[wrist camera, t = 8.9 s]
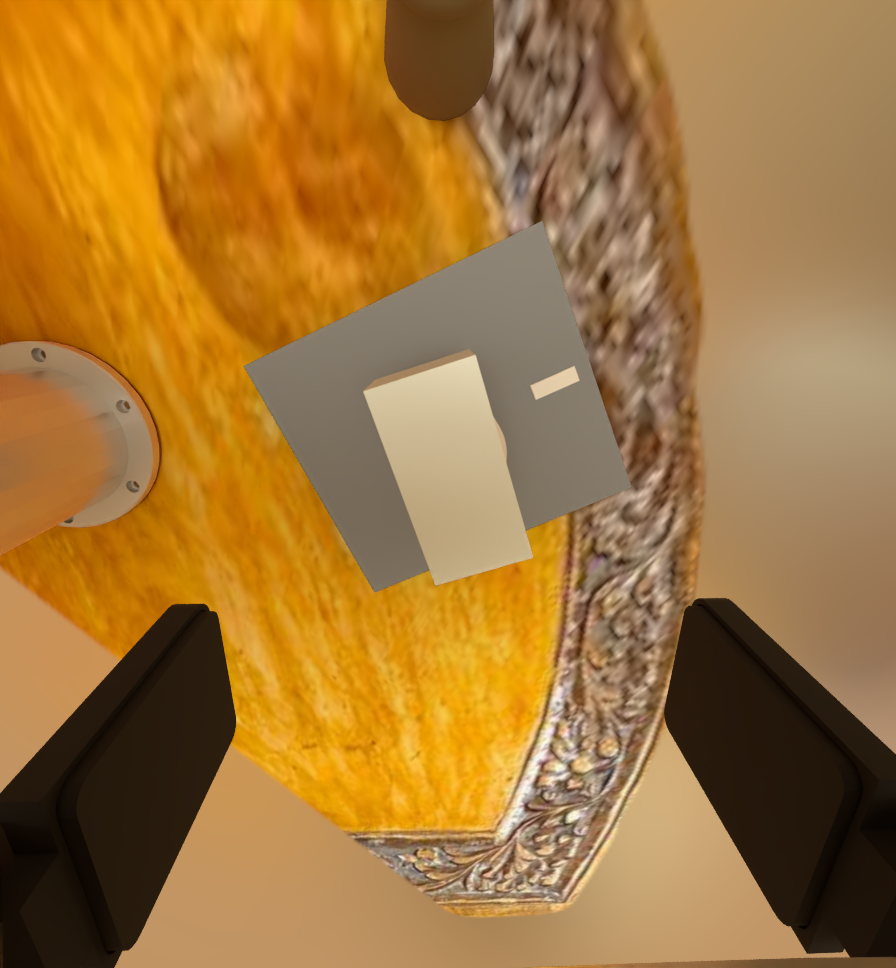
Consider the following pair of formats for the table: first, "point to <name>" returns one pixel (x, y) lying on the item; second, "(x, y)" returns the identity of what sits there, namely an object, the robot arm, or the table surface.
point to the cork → (439, 54)
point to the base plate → (506, 376)
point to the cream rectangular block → (450, 466)
